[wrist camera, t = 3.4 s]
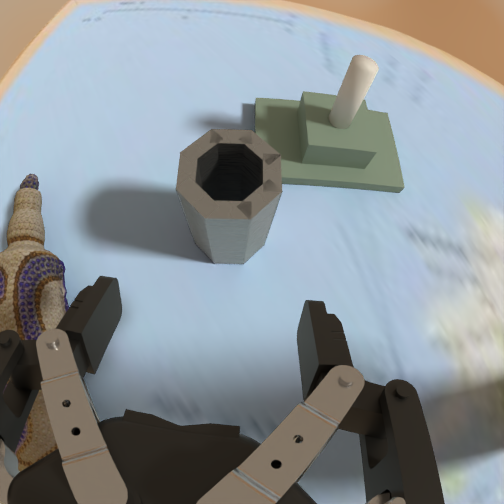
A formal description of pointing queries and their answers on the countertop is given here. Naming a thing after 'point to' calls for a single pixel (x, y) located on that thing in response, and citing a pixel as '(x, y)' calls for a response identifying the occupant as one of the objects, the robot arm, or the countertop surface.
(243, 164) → the hub
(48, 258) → the decorative bottle
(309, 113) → the green peg stand
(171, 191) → the countertop surface
